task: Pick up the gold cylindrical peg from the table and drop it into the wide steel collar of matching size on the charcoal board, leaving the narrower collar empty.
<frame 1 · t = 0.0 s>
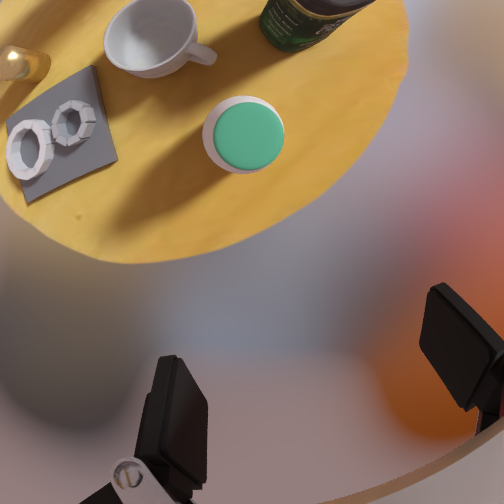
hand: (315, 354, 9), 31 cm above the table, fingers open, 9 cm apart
teacup: (171, 52, 29), on the table
gold cylindrical peg: (39, 68, 27), on the table
collar board: (56, 136, 32), on the table
coffee jar: (295, 26, 29), on the table
milk bottle: (239, 133, 35), on the table
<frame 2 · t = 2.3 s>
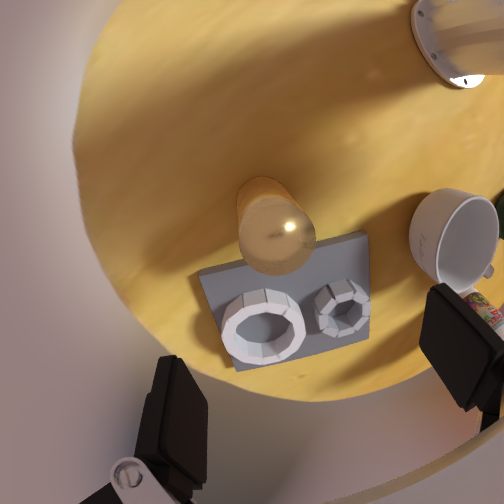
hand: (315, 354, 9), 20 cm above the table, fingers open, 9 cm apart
teacup: (436, 229, 30), on the table
gold cylindrical peg: (262, 201, 27), on the table
collar board: (294, 306, 33), on the table
milk bottle: (455, 302, 36), on the table
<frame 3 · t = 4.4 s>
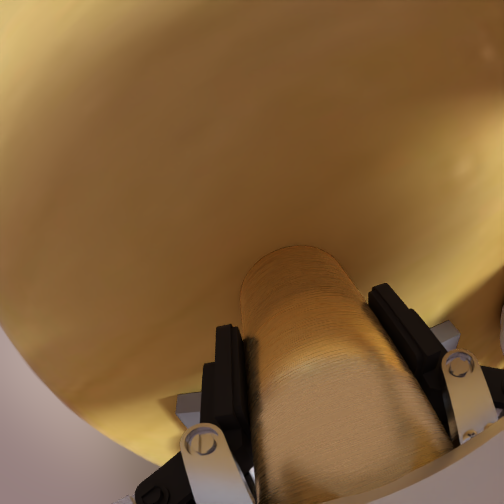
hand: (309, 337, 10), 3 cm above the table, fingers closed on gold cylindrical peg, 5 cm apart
gold cylindrical peg: (294, 295, 13), on the table, touching gripper
collar board: (328, 423, 18), on the table
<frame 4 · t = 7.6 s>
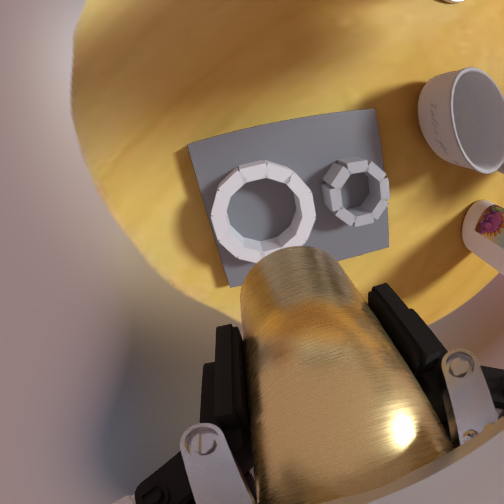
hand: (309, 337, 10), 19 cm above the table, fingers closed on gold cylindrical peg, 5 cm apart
teacup: (445, 126, 25), on the table
gold cylindrical peg: (294, 296, 13), point 16 cm above the table, touching gripper
collar board: (299, 194, 28), on the table
milk bottle: (476, 223, 31), on the table
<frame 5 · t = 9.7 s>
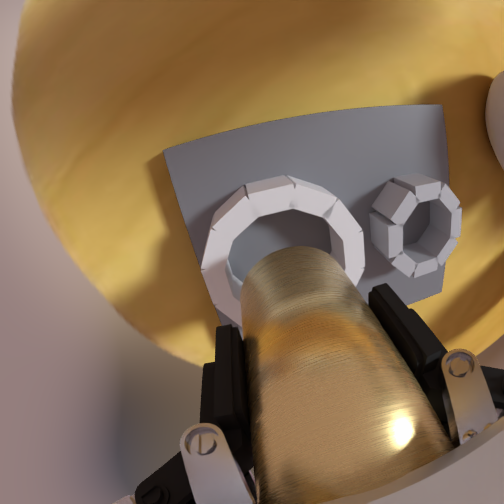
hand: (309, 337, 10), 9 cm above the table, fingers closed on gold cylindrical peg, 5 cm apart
gold cylindrical peg: (294, 296, 13), point 6 cm above the table, touching gripper
collar board: (334, 226, 18), on the table
when the fingers open (5 cm above the table, at t = 11.2 s): gold cylindrical peg stays where it is, resting on collar board.
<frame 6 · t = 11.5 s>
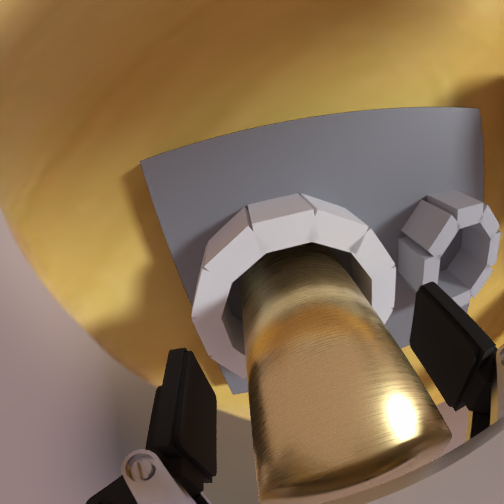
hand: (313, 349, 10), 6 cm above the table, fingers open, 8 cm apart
gold cylindrical peg: (291, 284, 14), point 2 cm above the table, touching collar board
collar board: (354, 252, 15), on the table
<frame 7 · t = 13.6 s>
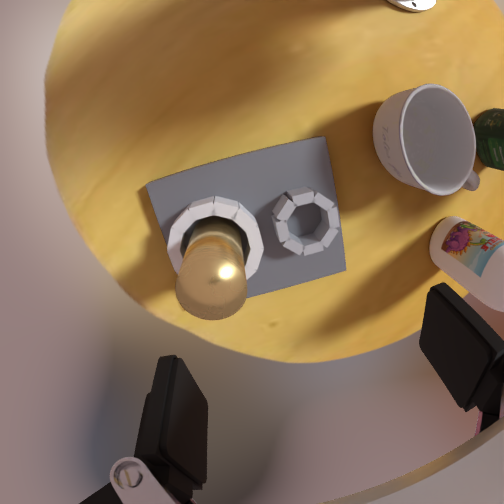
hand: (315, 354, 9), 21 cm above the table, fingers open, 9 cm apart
teacup: (407, 144, 28), on the table
gold cylindrical peg: (216, 239, 29), point 2 cm above the table, touching collar board
collar board: (252, 225, 30), on the table
coffee jar: (488, 136, 27), on the table
milk bottle: (446, 240, 33), on the table
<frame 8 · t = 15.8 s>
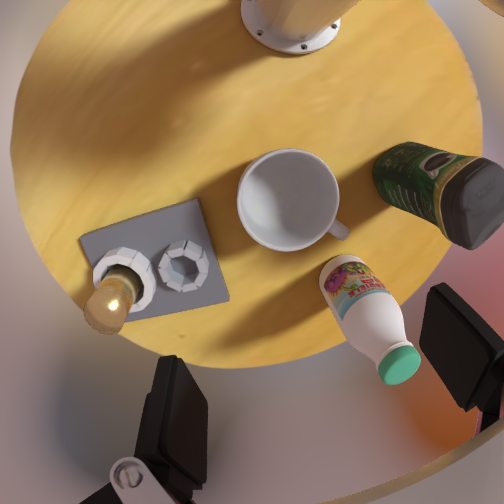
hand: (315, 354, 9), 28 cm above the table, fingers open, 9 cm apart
teacup: (287, 194, 36), on the table
gold cylindrical peg: (127, 276, 37), point 2 cm above the table, touching collar board
collar board: (154, 265, 39), on the table
coffee jar: (399, 171, 36), on the table
milk bottle: (341, 275, 42), on the table
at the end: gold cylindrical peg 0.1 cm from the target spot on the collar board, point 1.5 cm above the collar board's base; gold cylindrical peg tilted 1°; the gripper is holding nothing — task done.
